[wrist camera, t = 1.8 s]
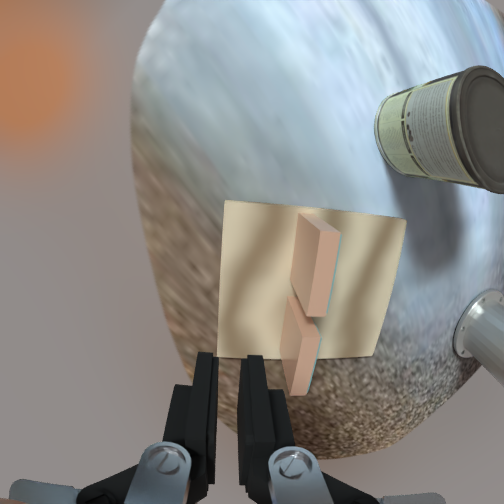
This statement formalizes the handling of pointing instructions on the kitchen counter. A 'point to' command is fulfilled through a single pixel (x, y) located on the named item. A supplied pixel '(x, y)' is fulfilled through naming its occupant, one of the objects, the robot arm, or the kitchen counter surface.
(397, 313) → the kitchen counter surface
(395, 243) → the board
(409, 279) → the kitchen counter surface
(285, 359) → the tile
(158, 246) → the kitchen counter surface
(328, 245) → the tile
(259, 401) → the robot arm
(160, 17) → the kitchen counter surface
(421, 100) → the coffee can
